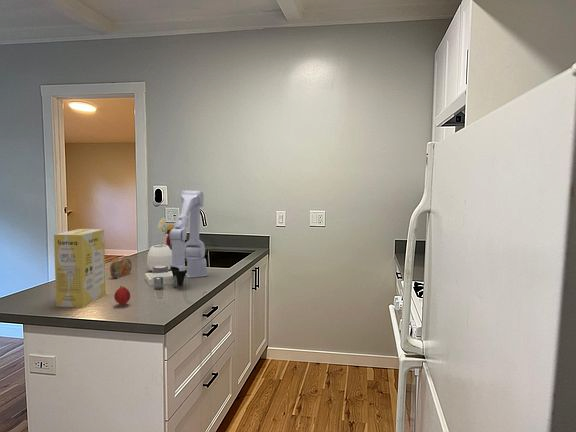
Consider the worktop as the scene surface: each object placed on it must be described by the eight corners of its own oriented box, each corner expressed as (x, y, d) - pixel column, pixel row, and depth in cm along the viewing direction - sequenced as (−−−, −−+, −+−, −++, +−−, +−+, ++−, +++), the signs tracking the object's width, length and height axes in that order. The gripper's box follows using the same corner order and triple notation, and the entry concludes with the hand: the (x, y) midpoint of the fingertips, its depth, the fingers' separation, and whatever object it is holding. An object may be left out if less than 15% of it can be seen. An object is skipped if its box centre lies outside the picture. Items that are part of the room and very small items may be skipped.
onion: (117, 303, 165) (116, 283, 165) (132, 303, 166) (131, 283, 165) (112, 307, 160) (112, 287, 159) (127, 307, 160) (127, 287, 159)
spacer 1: (162, 287, 191) (162, 276, 190) (163, 289, 187) (163, 278, 187) (153, 287, 189) (153, 277, 188) (154, 290, 185) (154, 279, 185)
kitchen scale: (173, 276, 211) (173, 264, 211) (180, 283, 198) (179, 269, 198) (144, 279, 205) (144, 266, 204) (149, 286, 192) (149, 272, 191)
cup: (176, 268, 229) (176, 244, 228) (167, 274, 216) (167, 248, 215) (153, 267, 230) (153, 243, 229) (142, 273, 217) (142, 247, 216)
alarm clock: (183, 245, 306) (183, 218, 304) (189, 247, 299) (188, 219, 298) (164, 247, 296) (164, 219, 295) (169, 249, 290) (169, 221, 288)
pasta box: (81, 293, 178) (79, 228, 176) (105, 294, 178) (104, 229, 175) (56, 306, 160) (53, 234, 157) (83, 307, 160) (81, 235, 157)
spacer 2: (181, 285, 195) (181, 274, 194) (183, 287, 191) (183, 276, 191) (173, 285, 193) (173, 275, 193) (175, 288, 189) (174, 277, 189)
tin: (114, 279, 203) (114, 262, 202) (109, 279, 204) (108, 262, 203) (132, 273, 218) (131, 257, 217) (126, 272, 218) (126, 256, 218)
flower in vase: (155, 254, 269) (154, 216, 267) (173, 254, 273) (173, 216, 271) (155, 258, 257) (154, 218, 255) (174, 257, 260) (173, 218, 258)
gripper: (166, 252, 195) (166, 280, 197) (172, 257, 183) (172, 288, 184) (181, 251, 199) (181, 279, 200) (188, 256, 186) (188, 286, 187)
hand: (178, 283), depth 192 cm, fingers open, 7 cm apart
